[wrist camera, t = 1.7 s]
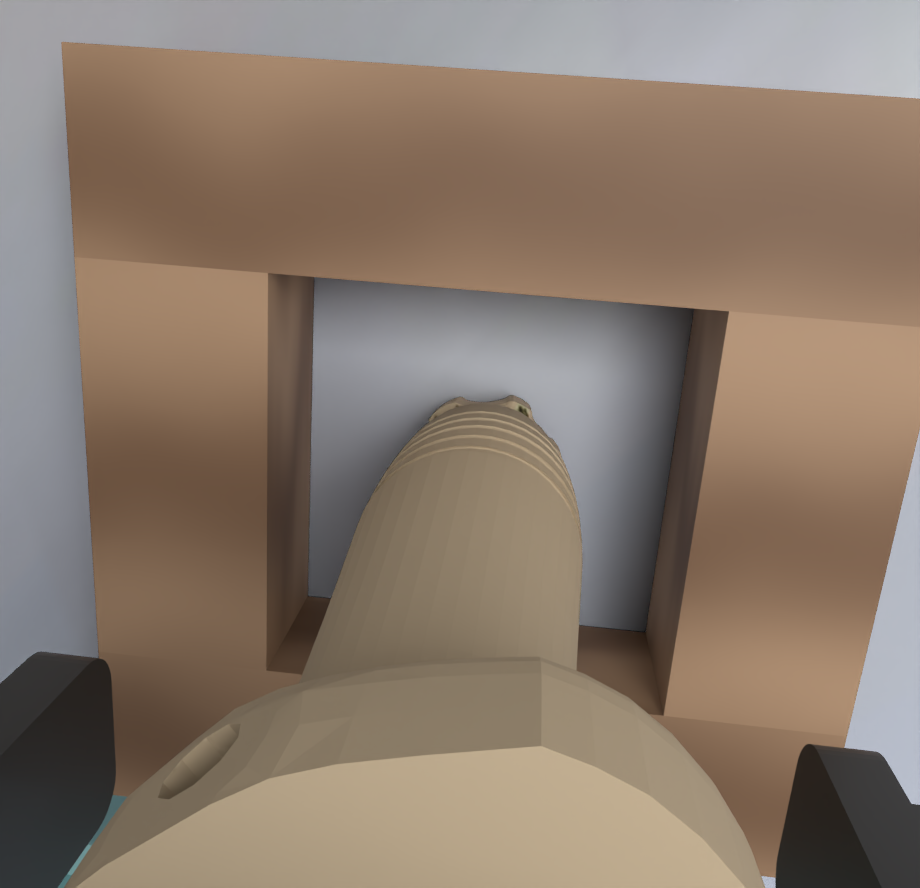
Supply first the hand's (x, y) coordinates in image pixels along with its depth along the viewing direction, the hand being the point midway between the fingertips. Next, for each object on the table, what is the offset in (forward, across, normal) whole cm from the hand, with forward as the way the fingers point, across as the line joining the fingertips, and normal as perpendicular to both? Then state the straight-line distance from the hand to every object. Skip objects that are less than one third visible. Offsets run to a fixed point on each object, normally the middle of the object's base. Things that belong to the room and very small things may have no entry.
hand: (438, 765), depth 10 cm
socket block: (+11, 0, 0) cm, 11 cm away
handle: (+11, 0, 0) cm, 11 cm away
